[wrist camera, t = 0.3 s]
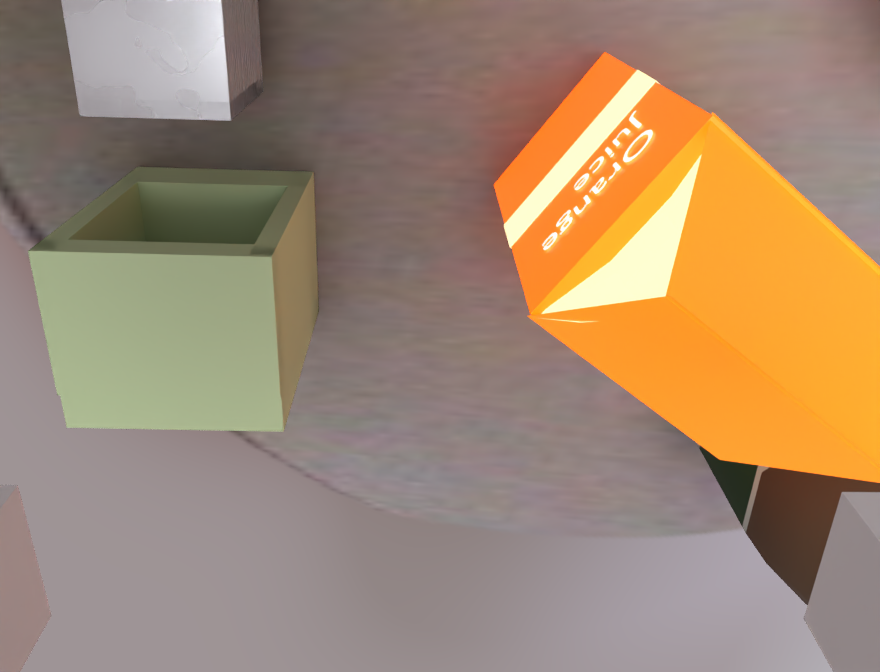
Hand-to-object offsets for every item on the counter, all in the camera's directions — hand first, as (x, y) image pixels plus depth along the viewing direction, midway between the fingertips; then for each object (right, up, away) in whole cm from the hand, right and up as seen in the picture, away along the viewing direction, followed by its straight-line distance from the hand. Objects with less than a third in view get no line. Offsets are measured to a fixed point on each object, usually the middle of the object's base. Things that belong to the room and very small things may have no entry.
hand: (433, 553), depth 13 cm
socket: (-10, +8, +25) cm, 28 cm away
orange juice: (+8, +11, +24) cm, 28 cm away
